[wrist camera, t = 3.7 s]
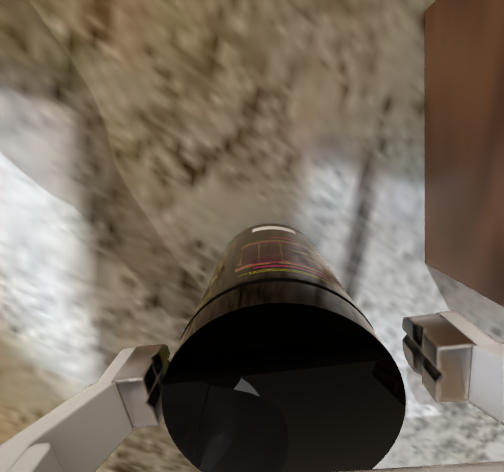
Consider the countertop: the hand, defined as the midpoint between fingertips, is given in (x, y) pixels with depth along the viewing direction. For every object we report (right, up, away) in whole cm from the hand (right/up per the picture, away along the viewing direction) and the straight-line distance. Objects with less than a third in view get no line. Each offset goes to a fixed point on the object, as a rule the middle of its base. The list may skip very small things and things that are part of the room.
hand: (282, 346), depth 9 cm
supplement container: (0, +2, +8) cm, 9 cm away
